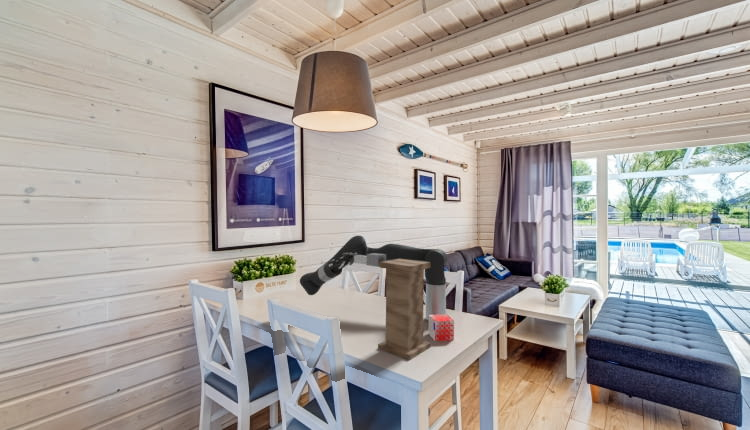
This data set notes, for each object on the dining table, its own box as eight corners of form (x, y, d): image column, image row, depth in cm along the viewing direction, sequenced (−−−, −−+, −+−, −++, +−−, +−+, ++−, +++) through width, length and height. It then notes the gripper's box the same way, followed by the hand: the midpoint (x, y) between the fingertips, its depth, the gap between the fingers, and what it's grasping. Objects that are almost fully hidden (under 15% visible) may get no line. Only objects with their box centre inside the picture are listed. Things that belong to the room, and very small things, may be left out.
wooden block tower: (399, 337, 129) (400, 258, 129) (430, 347, 120) (431, 262, 120) (377, 348, 118) (378, 262, 118) (409, 359, 109) (410, 266, 109)
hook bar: (348, 259, 142) (348, 249, 141) (385, 265, 128) (386, 254, 128) (340, 261, 138) (340, 250, 138) (378, 266, 124) (378, 255, 124)
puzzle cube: (453, 340, 127) (454, 320, 127) (434, 341, 126) (435, 321, 126) (446, 332, 135) (446, 314, 135) (428, 333, 134) (428, 314, 134)
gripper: (315, 265, 141) (338, 248, 132) (338, 261, 152) (361, 245, 143) (320, 280, 139) (345, 264, 129) (343, 276, 150) (367, 261, 140)
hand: (353, 255), depth 136 cm, fingers closed on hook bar, 3 cm apart
